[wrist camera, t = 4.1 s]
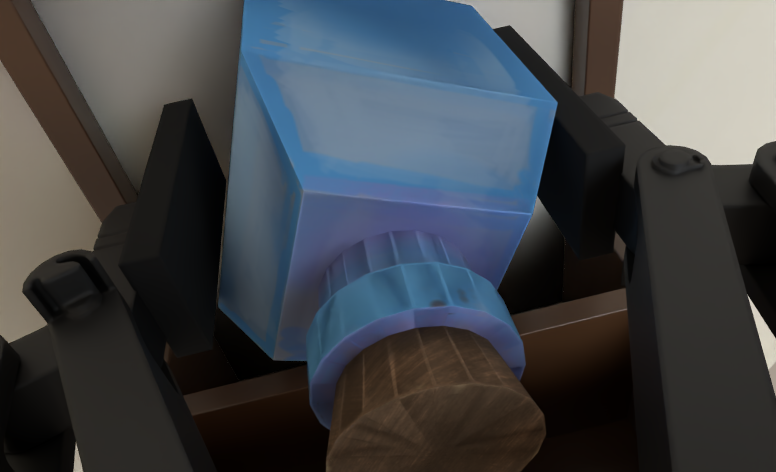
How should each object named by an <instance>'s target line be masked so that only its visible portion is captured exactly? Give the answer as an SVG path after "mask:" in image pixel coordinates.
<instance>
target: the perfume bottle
mask: <svg viewBox="0 0 776 472" xmlns="http://www.w3.org/2000/svg"><path fill="white" fill-rule="evenodd" d="M557 104H558V102H557V101H556V100H555V99H554V98H553V97H552V96H551V94H550V93H549V92H548V91H547V90H546V89H545V88H544V87H543V85H542V84H541V83H540V82H539V81H538V80H537V79H536V78H535V77H534V75H533V74H532V73H531V72H530V71H529V70H528V69H527V68H526V66H525V65H524V64H523V63H522V62H521V61H520V60H519V59H518V57H517V56H516V55H515V54H514V53H513V52H512V51H511V50H510V48H509V47H508V46H507V45H506V44H505V43H504V42H503V41H502V39H501V38H500V37H499V36H498V35H497V34H496V33H495V32H494V30H493V29H492V28H491V27H490V26H489V25H488V24H487V23H486V21H485V20H484V19H483V18H482V17H481V16H480V15H479V14H478V12H477V11H476V10H475V9H474V8H473V7H472V6H470V5H465V4H460V3H455V2H450V1H445V0H244V5H243V16H242V28H241V39H240V50H239V62H238V73H237V85H236V96H235V108H234V119H233V130H232V142H231V153H230V165H229V177H228V189H227V202H226V215H225V227H224V240H223V252H222V265H221V277H220V290H219V302H218V307H219V308H220V309H221V310H222V311H223V312H224V313H225V314H226V315H227V316H228V317H229V318H230V319H231V320H232V321H233V322H234V323H235V324H236V325H237V326H238V327H239V328H240V329H241V330H242V331H243V332H245V333H246V334H247V335H248V336H249V337H250V338H251V339H252V340H253V341H254V342H255V343H256V344H257V345H258V346H259V347H260V348H261V349H262V350H263V351H264V352H265V353H266V354H267V355H268V356H269V357H270V358H272V359H273V360H283V361H307V374H308V387H309V400H310V406H311V408H312V410H313V411H314V413H315V415H316V417H317V418H318V420H319V422H320V424H322V425H323V426H325V427H326V428H327V429H329V430H330V435H329V442H328V450H327V457H326V472H520V471H522V469H523V468H524V467H525V466H526V465H527V464H528V463H529V462H530V461H531V460H532V459H533V457H534V456H535V455H536V454H537V453H538V451H539V449H540V447H541V444H542V442H543V440H544V437H545V435H546V427H545V417H544V414H543V412H542V411H541V410H540V408H539V407H538V406H537V404H536V403H535V402H534V400H533V399H532V398H531V396H530V395H529V393H528V392H527V391H526V389H525V388H524V387H523V385H522V384H521V383H520V379H521V377H522V374H523V371H524V368H525V365H526V362H525V354H524V346H523V342H522V340H521V338H520V335H519V333H518V331H517V329H516V327H515V324H514V322H513V320H512V318H511V316H510V313H509V311H508V309H507V307H506V305H505V303H504V300H503V299H502V298H501V296H500V295H499V293H498V292H497V289H498V287H499V285H500V283H501V281H502V279H503V277H504V274H505V272H506V270H507V268H508V266H509V264H510V262H511V259H512V257H513V255H514V253H515V251H516V249H517V247H518V245H519V242H520V240H521V238H522V236H523V234H524V232H525V230H526V227H527V225H528V223H529V221H530V219H531V217H532V215H533V210H534V206H535V201H536V197H537V193H538V188H539V184H540V179H541V175H542V170H543V166H544V161H545V157H546V152H547V148H548V144H549V139H550V135H551V130H552V126H553V121H554V117H555V112H556V108H557Z"/></svg>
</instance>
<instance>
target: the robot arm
mask: <svg viewBox="0 0 776 472" xmlns="http://www.w3.org/2000/svg"><path fill="white" fill-rule="evenodd" d="M493 30H494V32H495V33H496V34H497V35H498V36H499V37H500V38H501V39H502V41H503V42H504V43H505V44H506V45H507V46H508V47H509V48H510V50H511V51H512V52H513V53H514V54H515V55H516V56H517V57H518V59H519V60H520V61H521V62H522V63H523V64H524V65H525V66H526V68H527V69H528V70H529V71H530V72H531V73H532V74H533V75H534V77H535V78H536V79H537V80H538V81H539V82H540V83H541V84H542V85H543V87H544V88H545V89H546V90H547V91H548V92H549V93H550V94H551V96H552V97H553V98H554V99H555V100H556V101H557V102H558V104H557V108H556V112H555V117H554V121H553V126H552V130H551V135H550V139H549V144H548V148H547V152H546V157H545V161H544V166H543V170H542V175H541V179H540V184H539V188H538V193H537V196H538V197H539V199H540V201H541V202H542V204H543V205H544V207H545V208H546V210H547V211H548V213H549V215H550V216H551V218H552V219H553V221H554V222H555V224H556V225H557V227H558V228H559V230H560V232H561V233H562V235H563V236H564V238H565V239H566V241H567V242H568V244H569V245H570V247H571V249H572V250H573V252H574V253H575V255H576V256H577V258H578V259H579V261H580V260H585V259H589V258H593V257H597V256H601V255H605V254H610V253H613V250H614V241H615V233H617V234H618V235H619V237H620V238H621V239H622V240H623V242H624V243H625V244H626V247H625V254H624V262H623V269H622V276H621V284H620V286H626V299H627V313H628V326H629V340H630V353H631V367H632V381H633V394H634V408H635V421H636V435H637V448H638V462H639V472H776V396H775V393H774V389H773V385H772V382H771V378H770V375H769V371H768V367H767V364H766V360H765V357H764V353H763V349H762V346H761V342H760V339H759V335H758V331H757V328H756V324H755V320H754V317H753V313H752V310H751V306H750V302H749V299H748V296H749V297H750V299H751V301H752V302H753V304H754V305H755V307H756V308H757V310H758V311H759V313H760V315H761V316H762V318H763V319H764V321H765V322H766V324H767V325H768V327H769V329H770V330H771V332H772V333H773V335H774V336H775V338H776V141H774V142H771V143H767V144H765V145H763V146H762V147H760V148H759V149H758V150H757V153H756V156H755V159H754V162H753V164H746V165H711V163H710V162H709V160H708V159H707V157H706V156H704V155H703V154H701V153H700V152H698V151H696V150H693V149H690V148H686V147H682V146H671V145H668V146H666V145H665V144H664V143H663V142H661V141H660V140H659V139H658V138H657V137H656V136H655V135H654V134H653V133H652V132H651V131H650V130H649V129H647V128H646V127H645V126H644V125H643V124H642V123H641V122H640V121H637V118H636V117H635V116H634V115H632V114H631V113H630V112H628V110H627V109H626V108H625V107H624V106H623V105H622V104H621V103H620V102H619V101H617V100H616V99H614V98H612V97H609V96H607V95H604V94H602V93H599V92H596V93H592V94H587V95H583V96H578V95H577V94H576V93H575V92H574V91H573V90H572V89H571V88H570V87H569V86H568V85H567V84H566V83H565V82H564V81H563V80H562V79H561V78H560V77H559V76H558V75H557V74H556V72H555V71H554V70H553V69H552V68H551V67H550V66H549V65H548V64H547V63H546V62H545V61H544V60H543V59H542V58H541V57H540V56H539V55H538V54H537V53H536V52H535V51H534V50H533V49H532V48H531V47H530V46H529V45H528V44H527V43H526V41H525V40H524V39H523V38H522V37H521V36H520V35H519V34H518V33H517V32H516V31H515V30H514V29H513V28H512V27H511V26H510V25H509V26H505V27H501V28H496V29H493ZM225 191H226V179H225V177H224V174H223V172H222V169H221V167H220V165H219V162H218V160H217V157H216V155H215V153H214V150H213V148H212V145H211V143H210V141H209V138H208V136H207V134H206V131H205V129H204V126H203V124H202V122H201V119H200V117H199V114H198V112H197V110H196V107H195V105H194V102H193V100H192V99H187V100H183V101H179V102H174V103H170V104H166V105H164V107H163V111H162V114H161V118H160V121H159V124H158V128H157V131H156V135H155V138H154V142H153V145H152V149H151V152H150V156H149V159H148V163H147V166H146V170H145V173H144V176H143V180H142V183H141V187H140V190H139V194H138V197H137V201H136V202H132V203H128V204H124V205H119V206H116V207H115V208H114V209H113V210H112V211H111V213H110V214H109V215H108V216H107V217H106V218H105V219H104V221H103V222H102V225H101V228H100V231H99V234H98V239H96V242H95V245H94V248H93V249H94V251H92V252H91V251H86V250H82V249H81V250H73V251H67V252H64V253H62V254H59V255H56V256H54V257H52V258H50V259H49V260H47V261H45V262H43V263H42V264H40V265H39V266H38V267H37V268H36V269H35V270H34V271H32V272H31V273H30V275H29V276H28V278H27V279H26V280H25V282H24V284H23V291H22V292H23V294H24V295H25V296H26V297H27V299H28V300H29V301H30V302H31V303H32V305H33V306H34V307H35V308H36V310H37V311H38V312H39V313H40V314H41V316H42V317H43V318H44V319H45V321H46V322H47V323H48V325H47V326H45V327H43V328H41V329H39V330H37V331H35V332H33V333H31V334H29V335H26V336H24V337H22V338H20V339H18V340H16V341H13V342H11V343H8V342H7V341H6V340H5V339H4V338H3V337H2V336H1V335H0V472H73V468H74V456H75V444H76V443H77V447H78V451H79V455H80V459H81V464H82V468H83V472H218V471H217V469H216V467H215V465H214V463H213V460H212V458H211V456H210V454H209V452H208V449H207V447H206V445H205V443H204V441H203V439H202V436H201V434H200V432H199V430H198V428H197V425H196V423H195V421H194V419H193V417H192V414H191V412H190V410H189V408H188V406H187V403H186V401H185V399H184V397H183V395H182V392H181V390H180V388H179V386H178V384H177V381H176V379H175V377H174V375H173V373H172V370H171V369H170V367H169V366H168V364H167V363H166V361H165V360H164V353H165V347H166V341H167V343H168V345H169V346H170V348H171V349H172V351H173V352H174V354H175V356H176V357H177V358H179V357H183V356H187V355H191V354H196V353H200V352H204V351H208V350H212V345H213V333H214V321H215V309H216V297H217V286H218V274H219V262H220V250H221V238H222V226H223V214H224V203H225ZM747 294H748V295H747Z"/></svg>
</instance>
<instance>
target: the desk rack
mask: <svg viewBox="0 0 776 472" xmlns="http://www.w3.org/2000/svg"><path fill="white" fill-rule="evenodd" d="M622 11H623V0H575V16H574V39H573V62H572V86H571V89H572V90H573V91H574V92H575V93H576V94H577V95H578V96H583V95H587V94H592V93H596V92H599V93H602V94H604V95H607V96H609V97H612V98H614V94H615V84H616V73H617V63H618V52H619V42H620V32H621V21H622ZM0 60H1V62H2V63H3V65H4V67H5V68H6V70H7V71H8V73H9V75H10V76H11V78H12V79H13V81H14V83H15V84H16V86H17V87H18V89H19V91H20V92H21V94H22V96H23V97H24V99H25V100H26V102H27V104H28V105H29V107H30V108H31V110H32V112H33V113H34V115H35V116H36V118H37V120H38V121H39V123H40V124H41V126H42V128H43V129H44V131H45V132H46V134H47V136H48V137H49V139H50V140H51V142H52V144H53V145H54V147H55V148H56V150H57V152H58V153H59V155H60V156H61V158H62V160H63V161H64V163H65V164H66V166H67V168H68V169H69V171H70V172H71V174H72V176H73V177H74V179H75V181H76V182H77V184H78V185H79V187H80V189H81V190H82V192H83V193H84V195H85V197H86V198H87V200H88V201H89V203H90V205H91V206H92V208H93V209H94V211H95V213H96V214H97V216H98V217H99V219H100V221H101V222H103V221H104V219H105V218H106V217H107V216H108V215H109V214H110V213H111V211H112V210H113V209H114V208H115V207H116V206H119V205H124V204H128V203H132V202H136V201H137V197H138V196H137V194H136V192H135V190H134V188H133V187H132V185H131V183H130V181H129V179H128V177H127V176H126V174H125V172H124V170H123V168H122V167H121V165H120V163H119V161H118V159H117V158H116V156H115V154H114V152H113V150H112V148H111V147H110V145H109V143H108V141H107V139H106V138H105V136H104V134H103V132H102V130H101V128H100V127H99V125H98V123H97V121H96V119H95V118H94V116H93V114H92V112H91V110H90V109H89V107H88V105H87V103H86V101H85V99H84V98H83V96H82V94H81V92H80V90H79V89H78V87H77V85H76V83H75V81H74V79H73V78H72V76H71V74H70V72H69V70H68V69H67V67H66V65H65V63H64V61H63V59H62V58H61V56H60V54H59V52H58V50H57V49H56V47H55V45H54V43H53V41H52V40H51V38H50V36H49V34H48V32H47V30H46V29H45V27H44V25H43V23H42V21H41V20H40V18H39V16H38V14H37V12H36V10H35V9H34V7H33V5H32V3H31V1H30V0H0ZM625 247H626V244H625V243H624V242H623V240H622V239H621V238H620V237H619V235H618V234H617V233H615V241H614V250H613V253H610V254H605V255H601V256H597V257H593V258H589V259H585V260H580V261H579V259H578V258H577V256H576V255H575V253H574V252H573V250H572V249H571V247H570V245H569V244H568V242H567V241H566V239H565V250H564V273H563V296H562V302H559V303H555V304H551V305H546V306H542V307H538V308H534V309H530V310H526V311H522V312H518V313H514V314H510V316H511V318H512V320H513V322H514V324H515V327H516V329H517V331H518V333H519V335H520V338H521V340H522V342H523V346H524V354H525V362H526V365H525V368H524V371H523V374H522V377H521V379H520V383H521V384H522V385H523V387H524V388H525V389H526V391H527V392H528V393H529V395H530V396H531V398H532V399H533V400H534V402H535V403H536V404H537V406H538V407H539V408H540V410H541V411H542V412H543V414H544V417H545V427H546V435H545V437H544V440H543V442H542V444H541V447H540V449H539V451H538V453H537V454H536V455H535V456H534V457H533V459H532V460H531V461H530V462H529V463H528V464H527V465H526V466H525V467H524V468H523V469H522V471H520V472H639V462H638V448H637V435H636V421H635V408H634V394H633V381H632V367H631V353H630V340H629V326H628V313H627V299H626V286H620V284H621V276H622V269H623V262H624V254H625ZM164 360H165V361H166V363H167V364H168V366H169V367H170V369H171V370H172V373H173V375H174V377H175V379H176V381H177V384H178V386H179V388H180V390H181V392H182V395H183V397H184V399H185V401H186V403H187V406H188V408H189V410H190V412H191V414H192V417H193V419H194V421H195V423H196V425H197V428H198V430H199V432H200V434H201V436H202V439H203V441H204V443H205V445H206V447H207V449H208V452H209V454H210V456H211V458H212V460H213V463H214V465H215V467H216V469H217V471H218V472H326V457H327V450H328V442H329V435H330V430H329V429H327V428H326V427H325V426H323V425H322V424H320V422H319V420H318V418H317V417H316V415H315V413H314V411H313V410H312V408H311V406H310V400H309V387H308V374H307V364H304V365H300V366H296V367H292V368H288V369H284V370H280V371H275V372H271V373H267V374H263V375H259V376H255V377H251V378H247V379H243V380H238V378H237V376H236V374H235V372H234V371H233V369H232V367H231V365H230V363H229V361H228V360H227V358H226V356H225V354H224V352H223V351H222V349H221V347H220V345H219V343H218V341H217V340H216V338H215V336H214V334H213V345H212V350H208V351H204V352H200V353H196V354H191V355H187V356H183V357H179V358H177V357H176V356H175V354H174V352H173V351H172V349H171V348H170V346H169V345H168V343H167V341H166V347H165V353H164Z"/></svg>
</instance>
